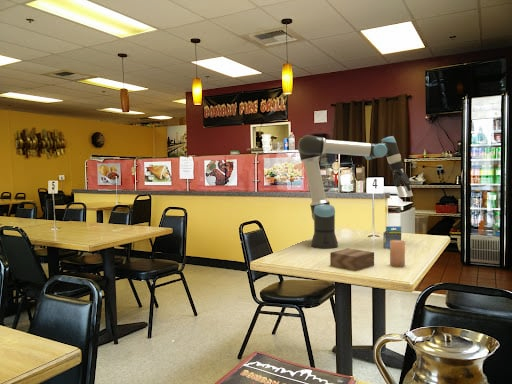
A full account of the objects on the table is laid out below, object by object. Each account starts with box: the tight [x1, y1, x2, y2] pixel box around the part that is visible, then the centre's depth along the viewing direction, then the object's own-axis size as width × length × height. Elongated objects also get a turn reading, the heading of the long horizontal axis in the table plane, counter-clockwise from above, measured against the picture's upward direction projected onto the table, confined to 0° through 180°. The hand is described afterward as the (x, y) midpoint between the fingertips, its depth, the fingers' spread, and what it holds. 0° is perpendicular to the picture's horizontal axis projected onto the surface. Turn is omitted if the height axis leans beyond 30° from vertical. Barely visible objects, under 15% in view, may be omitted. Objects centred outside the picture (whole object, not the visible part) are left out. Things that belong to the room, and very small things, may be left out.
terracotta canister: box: [389, 239, 406, 268], centre depth 188 cm, size 6×6×11 cm
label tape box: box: [382, 225, 402, 249], centre depth 230 cm, size 9×4×12 cm, turn 92°
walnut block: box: [329, 248, 375, 272], centre depth 188 cm, size 14×14×6 cm
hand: (406, 196), depth 244 cm, fingers open, 13 cm apart
